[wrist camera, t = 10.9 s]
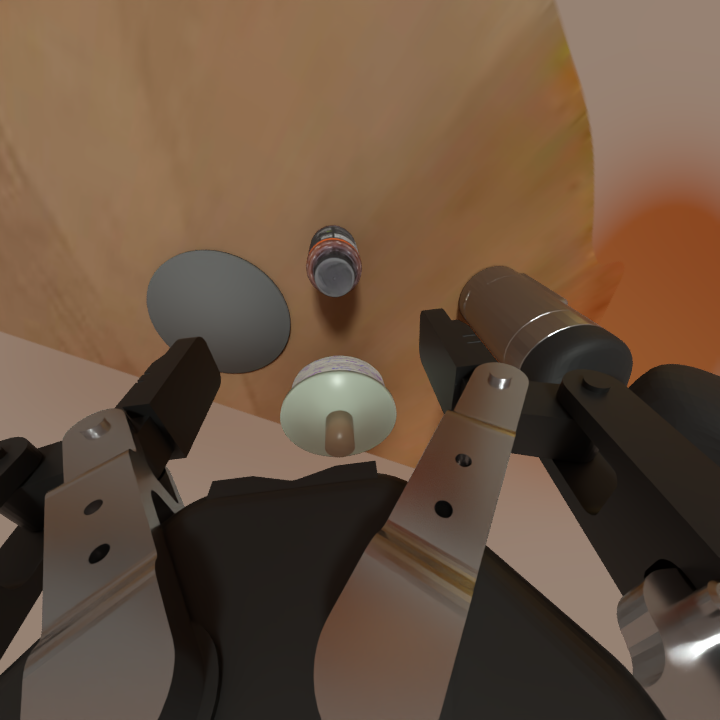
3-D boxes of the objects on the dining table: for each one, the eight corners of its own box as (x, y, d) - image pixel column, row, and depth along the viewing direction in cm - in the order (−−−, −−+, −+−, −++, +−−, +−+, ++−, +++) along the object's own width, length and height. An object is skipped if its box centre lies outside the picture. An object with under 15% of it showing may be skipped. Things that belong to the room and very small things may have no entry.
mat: (272, 242, 37) (271, 243, 37) (301, 364, 48) (301, 366, 48) (120, 257, 37) (117, 259, 36) (184, 376, 48) (182, 379, 47)
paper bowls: (367, 331, 46) (372, 361, 39) (392, 399, 54) (400, 433, 48) (277, 361, 48) (268, 394, 41) (315, 422, 56) (312, 457, 50)
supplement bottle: (333, 280, 41) (334, 318, 31) (300, 248, 38) (290, 278, 29) (366, 249, 39) (376, 279, 29) (333, 212, 36) (333, 233, 27)
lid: (395, 363, 40) (404, 393, 35) (395, 445, 50) (402, 478, 45) (268, 376, 39) (259, 408, 35) (293, 456, 49) (289, 490, 44)
